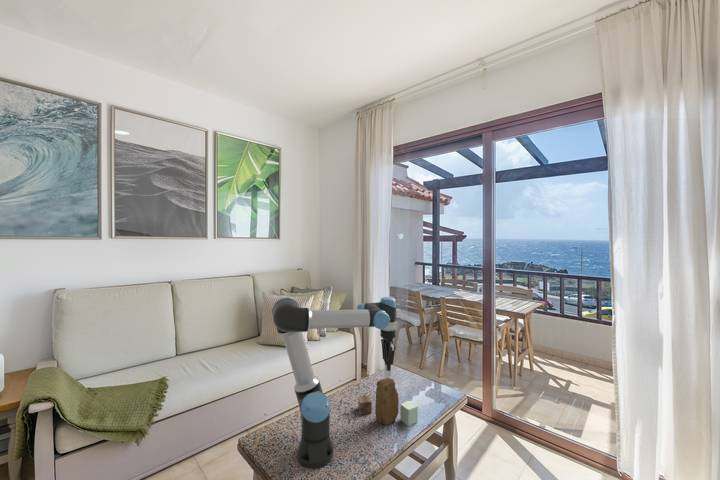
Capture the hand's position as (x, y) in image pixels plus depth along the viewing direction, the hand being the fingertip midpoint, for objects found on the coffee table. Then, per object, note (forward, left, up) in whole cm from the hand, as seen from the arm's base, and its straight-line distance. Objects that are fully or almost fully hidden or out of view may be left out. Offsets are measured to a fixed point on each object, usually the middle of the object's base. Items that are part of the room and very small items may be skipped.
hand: (387, 376), depth 150 cm
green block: (+10, -4, -22) cm, 25 cm away
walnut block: (-8, +11, -22) cm, 26 cm away
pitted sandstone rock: (0, 0, -22) cm, 22 cm away
